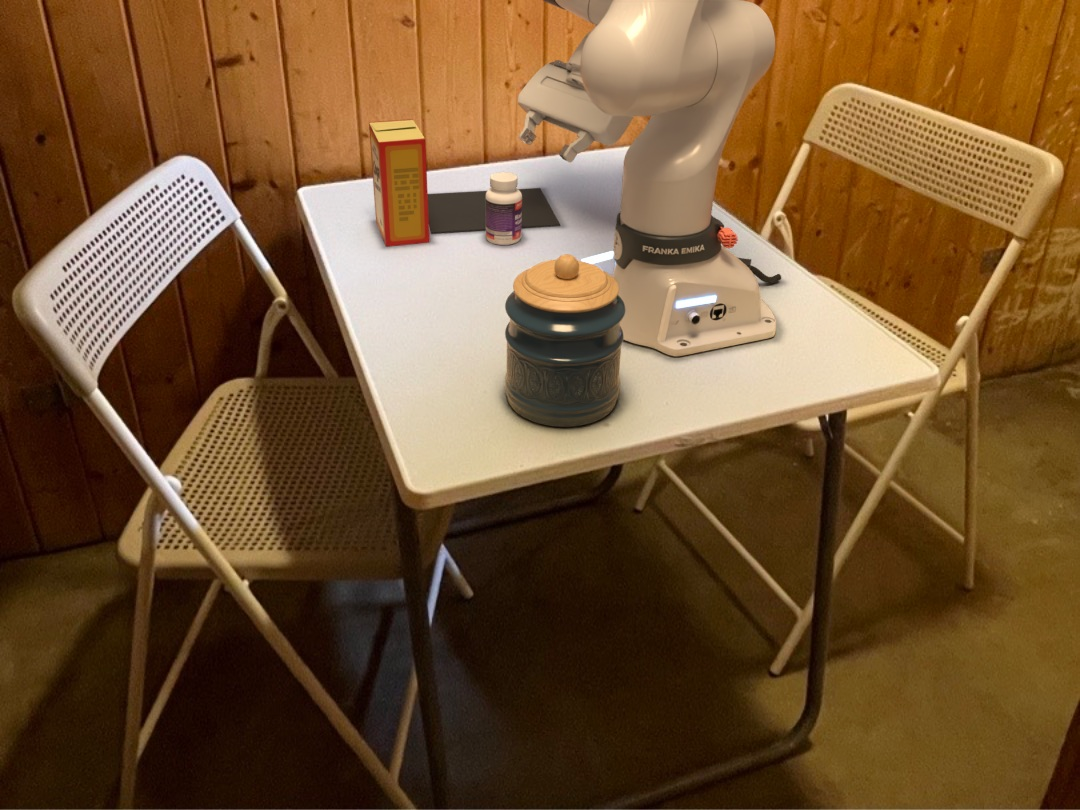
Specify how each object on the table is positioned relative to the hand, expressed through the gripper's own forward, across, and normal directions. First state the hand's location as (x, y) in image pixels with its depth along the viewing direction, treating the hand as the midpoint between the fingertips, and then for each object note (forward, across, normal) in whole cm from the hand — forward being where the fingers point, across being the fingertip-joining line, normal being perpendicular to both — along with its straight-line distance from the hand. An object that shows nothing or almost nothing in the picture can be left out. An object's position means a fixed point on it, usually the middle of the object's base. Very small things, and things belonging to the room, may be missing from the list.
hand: (543, 150), depth 150 cm
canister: (+30, +39, -12) cm, 51 cm away
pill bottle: (+14, 0, +3) cm, 14 cm away
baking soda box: (+22, -11, -4) cm, 25 cm away
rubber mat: (+10, -10, +7) cm, 16 cm away
